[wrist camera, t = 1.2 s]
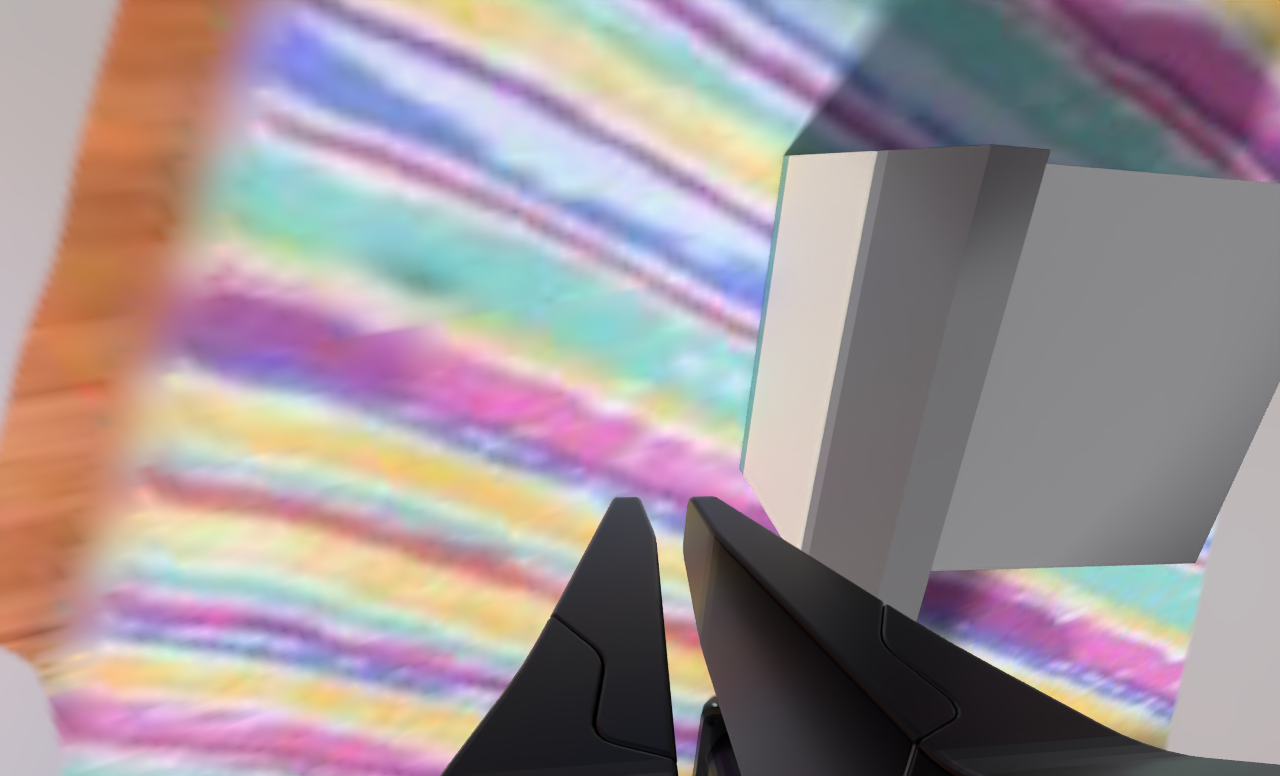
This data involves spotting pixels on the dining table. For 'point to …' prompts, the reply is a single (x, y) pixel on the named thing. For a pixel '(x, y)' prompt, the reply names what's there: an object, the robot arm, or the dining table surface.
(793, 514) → the box
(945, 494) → the lid
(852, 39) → the dining table surface
